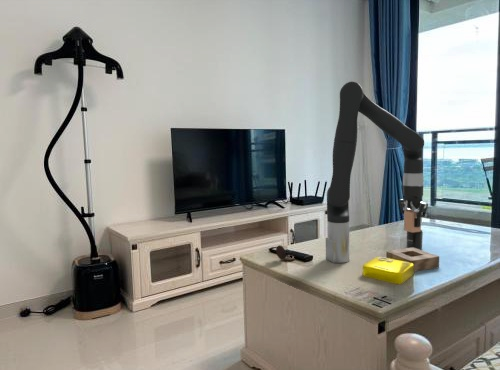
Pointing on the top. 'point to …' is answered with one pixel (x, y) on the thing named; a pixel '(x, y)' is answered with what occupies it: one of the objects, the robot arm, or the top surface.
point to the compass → (283, 254)
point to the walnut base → (415, 258)
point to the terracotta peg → (410, 222)
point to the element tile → (388, 270)
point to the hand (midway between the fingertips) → (412, 225)
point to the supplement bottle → (414, 240)
